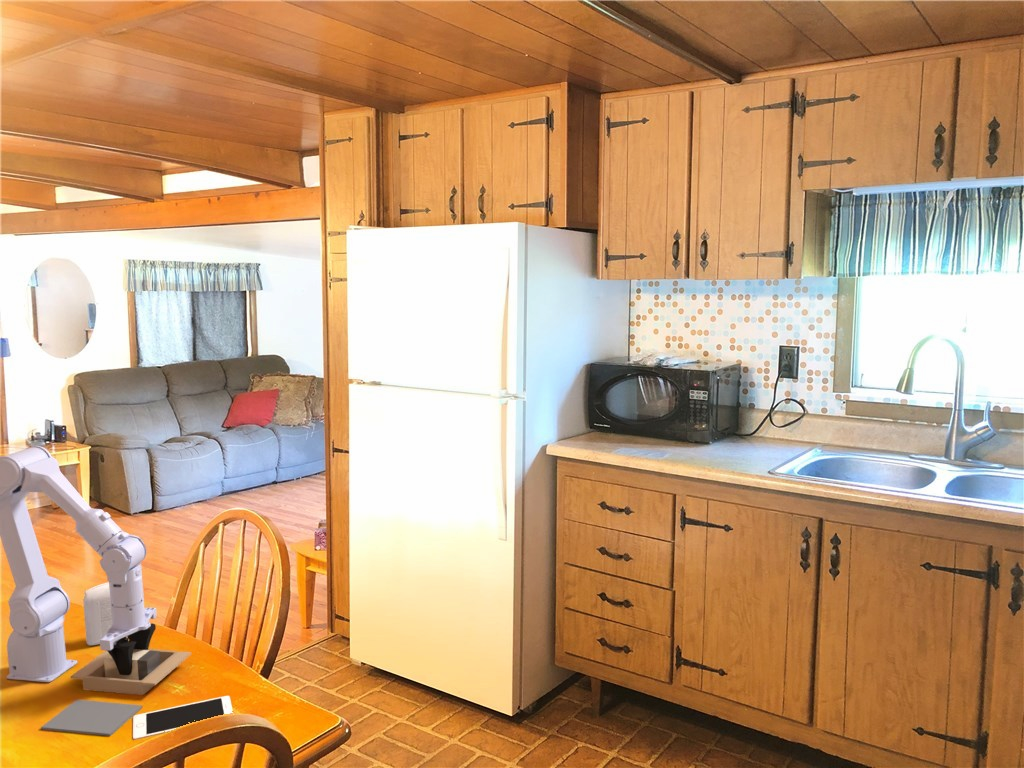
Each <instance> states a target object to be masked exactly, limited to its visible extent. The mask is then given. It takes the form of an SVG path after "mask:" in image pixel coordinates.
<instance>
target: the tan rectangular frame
mask: <svg viewBox="0 0 1024 768" xmlns="http://www.w3.org/2000/svg"><path fill="white" fill-rule="evenodd" d="M148 650H152V651H159V655H160V665H159V666H158V667H157V668H156V669H155V670H153V671H152V672H151V673H150V674H149V675H147V676H146V677H145V678H144V679H143V680H129V679H117V678H105V667H104V657H105V656H106V655H108V654H109V652H108V651H107V650H104V651H103V652H102V653H101V654H99V655H97V657H95V658H94V659H92V660H91V661H89V662H88V663H87V664H85V665H84V666H83V667H81V668H80V669H79V670H77V671H76V672H74V673H73V674H72V675H70V679H73V680H74V679H75V680H82V685H83V686H82V687H83V688H82V689H83V691H91V690H95V691H94V692H102V691H104V693H114V692H116V693H115V694H125V695H127V694H128V695H137V696H144V695H145V694H147V692H149V691H150V690H151V689H152V688H154V687H155V686H156V685H157V684H158V683H160V681H162V680H163V679H164V678H166V676H167V675H169V674H170V673H171V672H172V671H173V670H175V669H176V668H177V667H179V665H180V664H182V663H183V662H184V661H185V660H186V659H187V658H188V657H190V656H191V655H192V651H191V652H190V651H177V650H166V649H153V648H148Z"/></svg>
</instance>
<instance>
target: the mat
mask: <svg viewBox="0 0 1024 768" xmlns="http://www.w3.org/2000/svg"><path fill="white" fill-rule="evenodd" d="M142 708H143V705H140V704H133V703H132V704H131V703H122V702H121V703H120V702H119V703H118V702H108V701H97V700H88V699H87V700H86V699H76V700H74V701H73V702H72V703H71V704H69V705H67V706H66V707H64V709H63V710H61V711H60V712H58V713H57V714H56V715H55V716H53V717H52V718H51V719H50V720H48V721H47V722H46V723H44V724H43V725H42V726H40V730H44V731H55V732H65V733H66V732H67V733H75V734H87V735H96V736H97V735H98V736H106V737H107V736H108V737H111V736H112V735H113V734H114V733H115V732H117V731H118V730H119V729H120V728H121V727H123V725H124V724H125V723H127V722H128V721H129V720H130V719H132V718H133V717H134V716H135V715H137V713H138V712H139V711H140V710H141V709H142Z"/></svg>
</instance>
